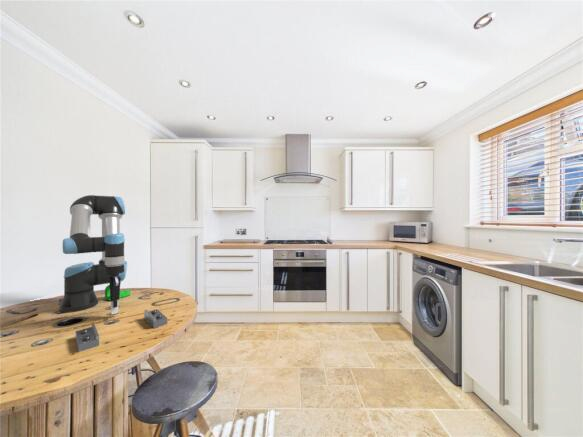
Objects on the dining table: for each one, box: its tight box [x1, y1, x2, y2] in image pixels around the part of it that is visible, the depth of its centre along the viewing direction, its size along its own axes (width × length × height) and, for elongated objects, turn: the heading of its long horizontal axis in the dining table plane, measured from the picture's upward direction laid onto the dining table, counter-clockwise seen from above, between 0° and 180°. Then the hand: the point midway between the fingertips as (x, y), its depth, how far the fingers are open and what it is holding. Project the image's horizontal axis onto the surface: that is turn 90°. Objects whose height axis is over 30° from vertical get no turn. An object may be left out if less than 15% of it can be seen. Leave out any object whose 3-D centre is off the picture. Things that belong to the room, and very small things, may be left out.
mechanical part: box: [104, 284, 131, 301], centre depth 136 cm, size 12×6×8 cm, turn 157°
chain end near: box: [75, 323, 100, 353], centre depth 85 cm, size 14×6×4 cm, turn 48°
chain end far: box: [143, 308, 168, 329], centre depth 103 cm, size 14×6×4 cm, turn 48°
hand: (114, 313), depth 108 cm, fingers closed
